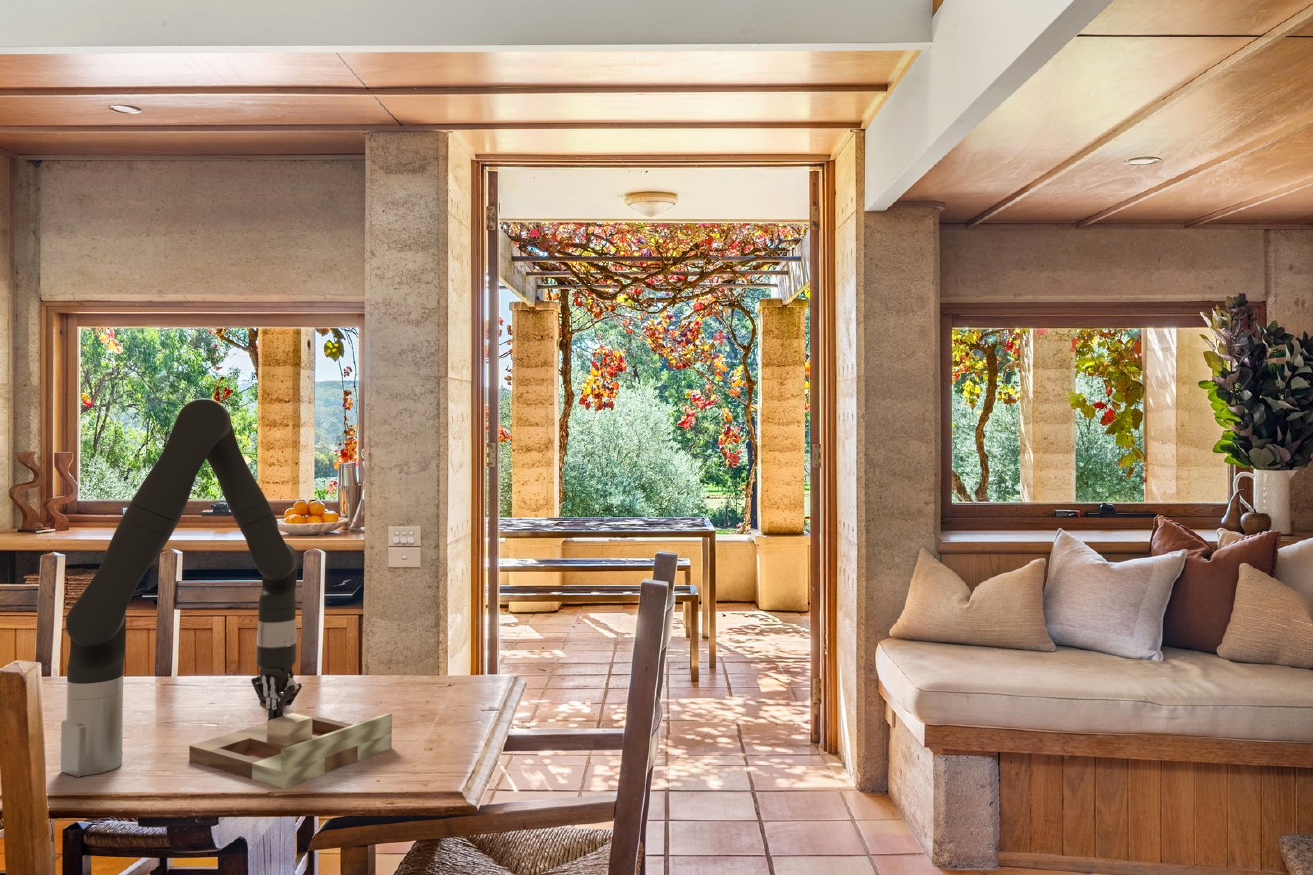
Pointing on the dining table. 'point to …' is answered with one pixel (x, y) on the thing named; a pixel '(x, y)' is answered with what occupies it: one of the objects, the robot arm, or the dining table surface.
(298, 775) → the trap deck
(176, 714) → the dining table surface
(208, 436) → the robot arm
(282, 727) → the block
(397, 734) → the dining table surface
